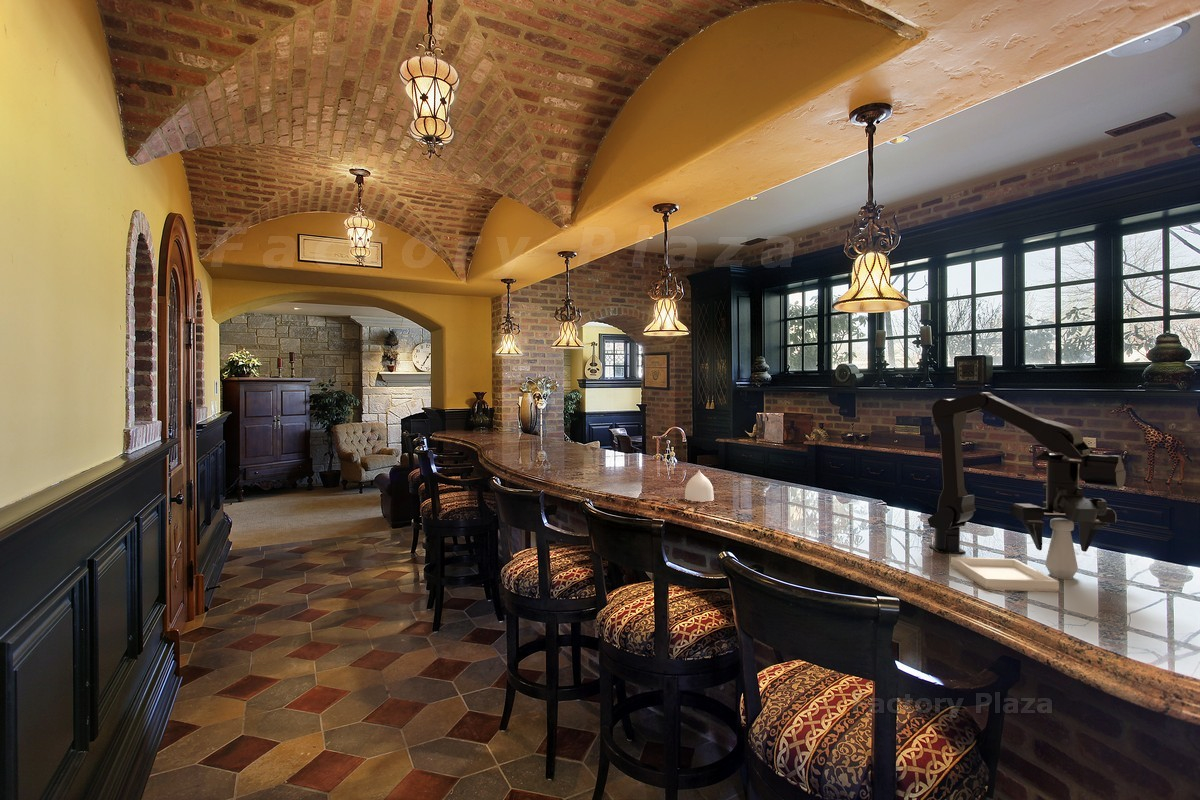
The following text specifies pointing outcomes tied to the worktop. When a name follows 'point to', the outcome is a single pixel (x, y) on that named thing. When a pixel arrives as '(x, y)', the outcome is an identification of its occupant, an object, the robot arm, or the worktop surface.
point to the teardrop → (699, 489)
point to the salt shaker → (1061, 550)
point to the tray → (1004, 574)
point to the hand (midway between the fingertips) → (1061, 550)
